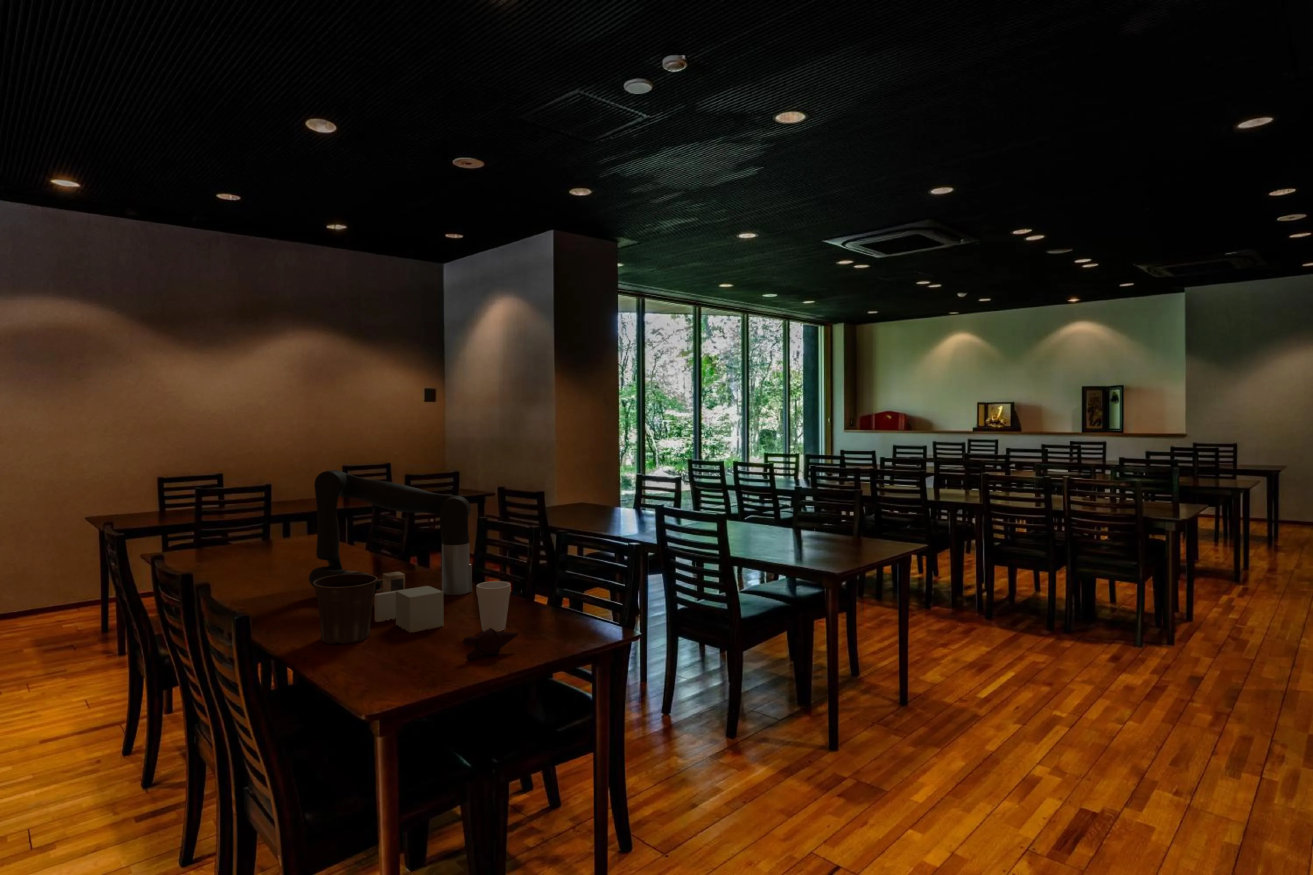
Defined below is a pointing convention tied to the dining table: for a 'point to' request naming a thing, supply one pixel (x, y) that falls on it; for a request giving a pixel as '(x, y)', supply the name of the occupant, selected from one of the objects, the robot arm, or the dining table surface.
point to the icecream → (488, 642)
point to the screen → (385, 606)
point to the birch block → (393, 581)
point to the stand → (419, 608)
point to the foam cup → (493, 604)
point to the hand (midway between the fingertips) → (387, 589)
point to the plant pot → (345, 607)
